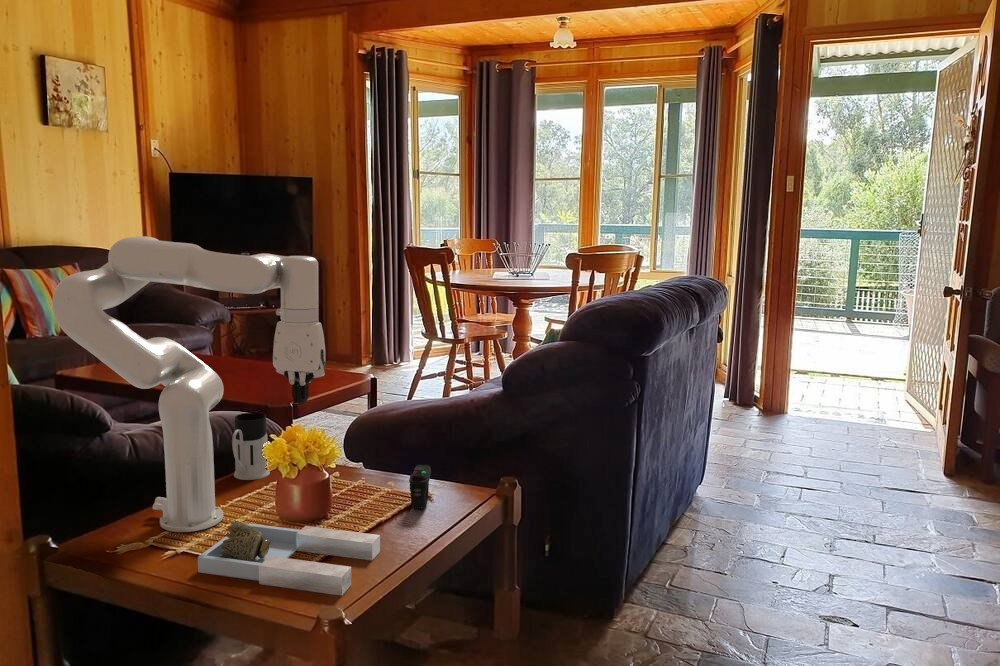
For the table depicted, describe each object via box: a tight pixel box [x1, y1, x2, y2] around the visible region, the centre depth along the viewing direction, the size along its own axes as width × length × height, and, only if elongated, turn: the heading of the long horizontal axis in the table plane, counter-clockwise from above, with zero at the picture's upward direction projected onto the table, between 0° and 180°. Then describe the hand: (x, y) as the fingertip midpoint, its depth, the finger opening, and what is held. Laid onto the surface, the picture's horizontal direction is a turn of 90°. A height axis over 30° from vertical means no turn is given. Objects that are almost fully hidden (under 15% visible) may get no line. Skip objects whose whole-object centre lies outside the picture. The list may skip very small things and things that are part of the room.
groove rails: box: [258, 525, 381, 597], centre depth 142 cm, size 16×18×4 cm
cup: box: [220, 520, 270, 561], centre depth 144 cm, size 8×7×8 cm
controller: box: [408, 464, 432, 509], centre depth 173 cm, size 4×12×10 cm, turn 179°
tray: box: [197, 522, 301, 582], centre depth 145 cm, size 13×16×3 cm
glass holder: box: [231, 412, 271, 481], centre depth 187 cm, size 9×14×15 cm, turn 174°
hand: (300, 402), depth 159 cm, fingers closed
